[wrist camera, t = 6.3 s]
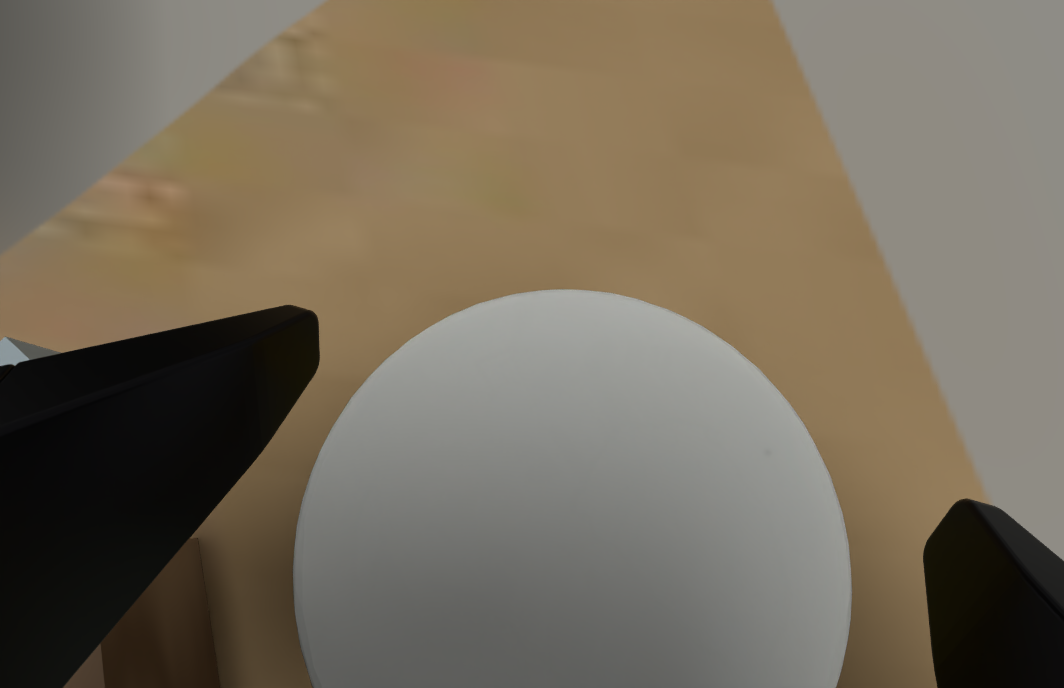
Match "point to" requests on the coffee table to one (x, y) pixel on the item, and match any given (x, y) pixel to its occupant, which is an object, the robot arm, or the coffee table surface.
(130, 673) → the walnut block
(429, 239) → the coffee table surface
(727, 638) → the pill bottle
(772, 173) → the coffee table surface
